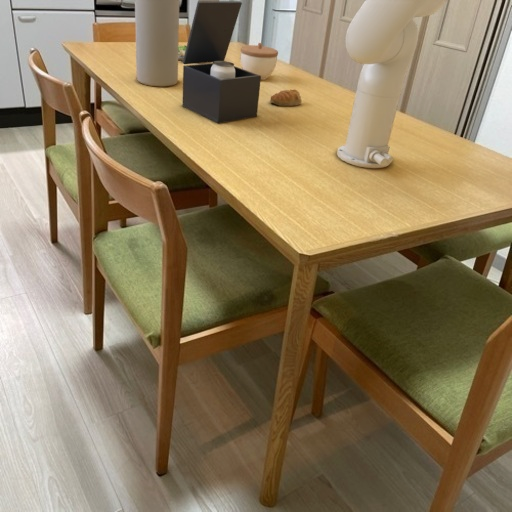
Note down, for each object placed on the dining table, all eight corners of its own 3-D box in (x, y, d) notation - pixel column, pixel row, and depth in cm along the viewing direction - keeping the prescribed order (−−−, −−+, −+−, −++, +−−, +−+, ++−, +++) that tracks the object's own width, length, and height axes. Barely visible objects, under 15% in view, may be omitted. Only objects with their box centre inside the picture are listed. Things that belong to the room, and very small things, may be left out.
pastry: (279, 108, 149) (280, 95, 147) (264, 101, 154) (265, 88, 152) (302, 105, 155) (304, 92, 153) (287, 99, 159) (289, 86, 157)
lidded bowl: (280, 82, 176) (285, 47, 170) (246, 82, 171) (249, 46, 165) (266, 72, 186) (270, 39, 180) (233, 72, 181) (235, 38, 175)
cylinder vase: (129, 83, 156) (126, -10, 143) (146, 74, 167) (145, -13, 153) (168, 89, 154) (169, -4, 141) (183, 80, 165) (185, -7, 151)
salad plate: (200, 67, 183) (201, 53, 180) (155, 58, 187) (155, 44, 184) (222, 58, 198) (222, 45, 196) (180, 50, 203) (180, 37, 200)
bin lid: (242, 2, 132) (229, -9, 134) (199, 2, 124) (187, -9, 126) (224, 61, 144) (213, 50, 146) (184, 64, 136) (173, 53, 138)
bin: (257, 116, 141) (261, 75, 135) (218, 123, 133) (220, 80, 127) (220, 100, 150) (223, 61, 144) (182, 106, 142) (183, 65, 136)
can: (204, 109, 139) (206, 62, 132) (215, 104, 144) (218, 59, 137) (225, 114, 137) (228, 67, 130) (236, 109, 142) (240, 63, 135)
